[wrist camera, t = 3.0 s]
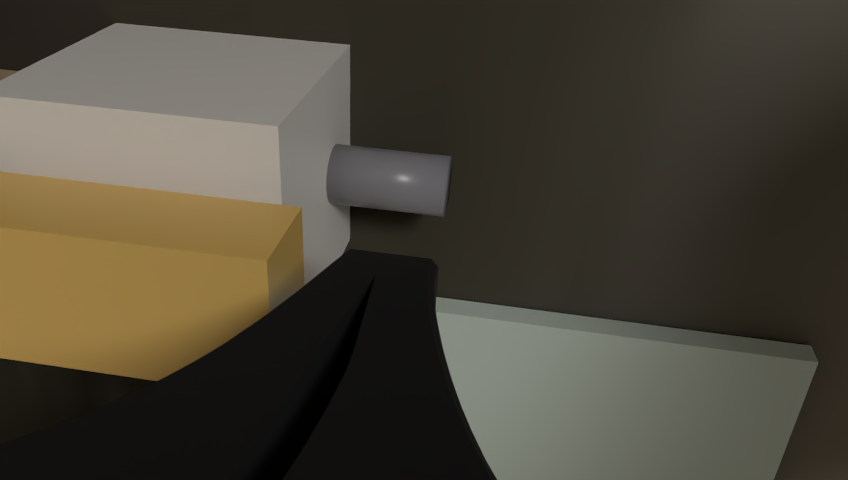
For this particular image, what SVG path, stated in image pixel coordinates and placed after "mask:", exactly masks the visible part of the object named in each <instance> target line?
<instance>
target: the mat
mask: <svg viewBox="0 0 848 480" xmlns="http://www.w3.org/2000/svg"><path fill="white" fill-rule="evenodd" d="M436 316H437V322H438V327H439V332H440V337H441V342H442V346H443V350H444V354H445V358H446V362H447V365H448V368H449V371H450V375H451V378H452V381H453V384H454V387H455V390H456V393H457V396H458V398H459V401H460V404H461V406H462V409H463V411H464V414H465V416H466V418H467V421H468V423H469V425H470V428H471V430H472V432H473V434H474V436H475V439H476V441H477V443H478V445H479V447H480V449H481V451H482V453H483V455H484V457H485V459H486V461H487V463H488V465H489V466H490V468H491V470H492V471H493V473H494V475H495V477H496V478H497V480H774V478H775V475H776V473H777V470H778V467H779V465H780V462H781V460H782V457H783V454H784V452H785V449H786V447H787V444H788V441H789V439H790V436H791V433H792V431H793V428H794V426H795V423H796V420H797V418H798V415H799V412H800V410H801V407H802V405H803V402H804V399H805V397H806V394H807V391H808V389H809V386H810V384H811V381H812V378H813V376H814V373H815V371H816V368H817V365H818V363H819V362H818V360H817V358H816V356H815V353H814V351H813V349H812V347H811V346H810V345H802V344H794V343H787V342H779V341H771V340H764V339H756V338H748V337H740V336H733V335H725V334H717V333H710V332H702V331H694V330H686V329H679V328H671V327H663V326H656V325H648V324H640V323H633V322H625V321H617V320H609V319H602V318H594V317H586V316H579V315H571V314H563V313H555V312H548V311H540V310H532V309H525V308H517V307H509V306H501V305H494V304H486V303H478V302H471V301H463V300H455V299H448V298H440V297H436Z"/></svg>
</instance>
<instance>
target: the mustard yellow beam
mask: <svg viewBox="0 0 848 480" xmlns="http://www.w3.org/2000/svg"><path fill="white" fill-rule="evenodd" d="M304 285H305V283H304V254H303V225H302V207H295V206H287V205H279V204H270V203H262V202H253V201H245V200H236V199H228V198H220V197H211V196H203V195H194V194H186V193H178V192H169V191H161V190H152V189H144V188H135V187H127V186H119V185H110V184H102V183H93V182H85V181H77V180H68V179H60V178H51V177H43V176H34V175H26V174H18V173H9V172H1V171H0V358H4V359H11V360H18V361H24V362H31V363H38V364H45V365H51V366H58V367H65V368H72V369H78V370H85V371H92V372H99V373H105V374H112V375H119V376H126V377H132V378H139V379H146V380H153V381H158V380H160V379H162V378H164V377H166V376H168V375H170V374H172V373H174V372H176V371H177V370H179V369H181V368H183V367H185V366H187V365H188V364H190V363H192V362H194V361H196V360H198V359H199V358H201V357H203V356H204V355H206V354H208V353H209V352H211V351H213V350H214V349H216V348H218V347H219V346H221V345H223V344H224V343H226V342H227V341H229V340H230V339H232V338H233V337H235V336H236V335H237V334H239V333H240V332H242V331H243V330H245V329H246V328H248V327H249V326H251V325H252V324H254V323H255V322H257V321H258V320H260V319H261V318H262V317H264V316H265V315H267V314H268V313H269V312H271V311H272V310H273V309H275V308H276V307H277V306H279V305H280V304H281V303H282V302H284V301H285V300H286V299H288V298H289V297H290V296H292V295H293V294H294V293H296V292H297V291H298V290H299V289H301V288H302V287H303V286H304Z"/></svg>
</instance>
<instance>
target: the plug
mask: <svg viewBox="0 0 848 480" xmlns="http://www.w3.org/2000/svg"><path fill="white" fill-rule="evenodd" d="M0 171H1V172H9V173H18V174H26V175H34V176H43V177H51V178H60V179H68V180H77V181H85V182H93V183H102V184H110V185H119V186H127V187H135V188H144V189H152V190H161V191H169V192H178V193H186V194H194V195H203V196H211V197H220V198H228V199H236V200H245V201H253V202H262V203H270V204H279V205H287V206H295V207H302V225H303V254H304V283H305V285H306V284H307V283H308V282H309V281H311V280H312V279H313V278H314V277H316V276H317V275H318V274H319V273H320V272H322V271H323V270H324V269H325V268H327V267H328V266H329V265H330V264H332V263H333V262H334V261H335V260H337V259H338V258H339V257H341V256H342V254H343V252H344V250H345V248H346V246H347V244H348V242H349V240H350V206H356V207H365V208H373V209H381V210H390V211H398V212H407V213H415V214H424V215H432V216H441V217H444V216H445V214H446V210H447V205H448V200H449V193H450V184H451V173H452V157H451V156H444V155H434V154H425V153H416V152H407V151H398V150H388V149H379V148H370V147H361V146H352V145H350V45H344V44H334V43H323V42H312V41H302V40H291V39H280V38H270V37H259V36H248V35H238V34H227V33H216V32H205V31H195V30H184V29H173V28H163V27H152V26H141V25H131V24H120V23H115V24H113V25H111V26H109V27H107V28H105V29H103V30H101V31H99V32H97V33H95V34H93V35H91V36H89V37H87V38H85V39H83V40H81V41H79V42H77V43H75V44H73V45H71V46H69V47H67V48H65V49H63V50H61V51H59V52H57V53H55V54H53V55H51V56H49V57H47V58H45V59H42V60H40V61H38V62H36V63H34V64H32V65H30V66H28V67H26V68H24V69H22V70H20V71H18V72H16V73H14V74H12V75H10V76H8V77H6V78H4V79H2V80H0Z"/></svg>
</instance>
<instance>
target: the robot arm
mask: <svg viewBox="0 0 848 480" xmlns="http://www.w3.org/2000/svg"><path fill="white" fill-rule="evenodd" d="M437 278H438V266H437V265H436V264H435V263H434V261H433V260H432V259H428V258H419V257H411V256H403V255H395V254H387V253H378V252H370V251H362V250H354V249H350V250H348V251H347V252H346V253H344V254H343V255H342V256H341V257H339V258H338V259H337V260H335V261H334V262H333V263H332V264H330V265H329V266H328V267H327V268H325V269H324V270H323V271H322V272H320V273H319V274H318V275H317V276H316V277H314V278H313V279H312V280H311V281H309V282H308V283H307V284H306V285H304V286H303V287H302V288H301V289H299V290H298V291H297V292H296V293H294V294H293V295H292V296H290V297H289V298H288V299H286V300H285V301H284V302H282V303H281V304H280V305H279V306H277V307H276V308H275V309H273V310H272V311H271V312H269V313H268V314H267V315H265V316H264V317H262V318H261V319H260V320H258V321H257V322H255V323H254V324H252V325H251V326H249V327H248V328H246V329H245V330H243V331H242V332H240V333H239V334H237V335H236V336H235V337H233V338H232V339H230V340H229V341H227V342H226V343H224V344H223V345H221V346H219V347H218V348H216V349H214V350H213V351H211V352H209V353H208V354H206V355H204V356H203V357H201V358H199V359H198V360H196V361H194V362H192V363H190V364H188V365H187V366H185V367H183V368H181V369H179V370H177V371H176V372H174V373H172V374H170V375H168V376H166V377H164V378H162V379H160V380H158V381H156V382H154V383H152V384H150V385H148V386H146V387H144V388H141V389H139V390H137V391H135V392H133V393H130V394H128V395H126V396H124V397H121V398H119V399H117V400H115V401H113V402H110V403H108V404H106V405H104V406H101V407H99V408H97V409H95V410H93V411H90V412H88V413H85V414H83V415H80V416H78V417H75V418H73V419H70V420H67V421H65V422H62V423H59V424H57V425H54V426H52V427H49V428H46V429H43V430H41V431H38V432H35V433H32V434H29V435H26V436H23V437H20V438H17V439H15V440H12V441H9V442H6V443H3V444H0V480H497V478H496V477H495V475H494V473H493V471H492V470H491V468H490V466H489V465H488V463H487V461H486V459H485V457H484V455H483V453H482V451H481V449H480V447H479V445H478V443H477V441H476V439H475V436H474V434H473V432H472V430H471V428H470V425H469V423H468V421H467V418H466V416H465V414H464V411H463V409H462V406H461V404H460V401H459V398H458V396H457V393H456V390H455V387H454V384H453V381H452V378H451V375H450V371H449V368H448V365H447V362H446V358H445V354H444V350H443V346H442V342H441V337H440V332H439V327H438V322H437V316H436V294H437Z"/></svg>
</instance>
